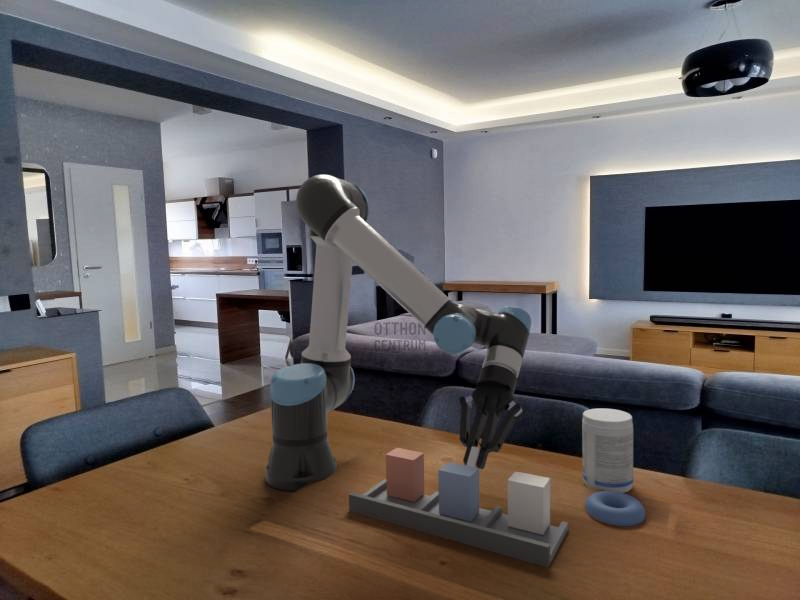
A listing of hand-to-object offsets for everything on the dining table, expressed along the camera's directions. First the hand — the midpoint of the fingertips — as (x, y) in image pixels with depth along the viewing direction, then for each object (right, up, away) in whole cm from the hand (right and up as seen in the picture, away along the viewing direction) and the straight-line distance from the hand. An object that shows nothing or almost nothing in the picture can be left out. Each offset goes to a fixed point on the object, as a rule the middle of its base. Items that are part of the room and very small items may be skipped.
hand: (468, 483), depth 97 cm
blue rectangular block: (-2, -5, -2) cm, 5 cm away
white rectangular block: (+9, -5, -7) cm, 13 cm away
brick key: (-11, -4, +5) cm, 13 cm away
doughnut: (+26, -6, -2) cm, 26 cm away
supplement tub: (+30, -4, +11) cm, 32 cm away
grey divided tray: (-3, -6, -4) cm, 8 cm away
